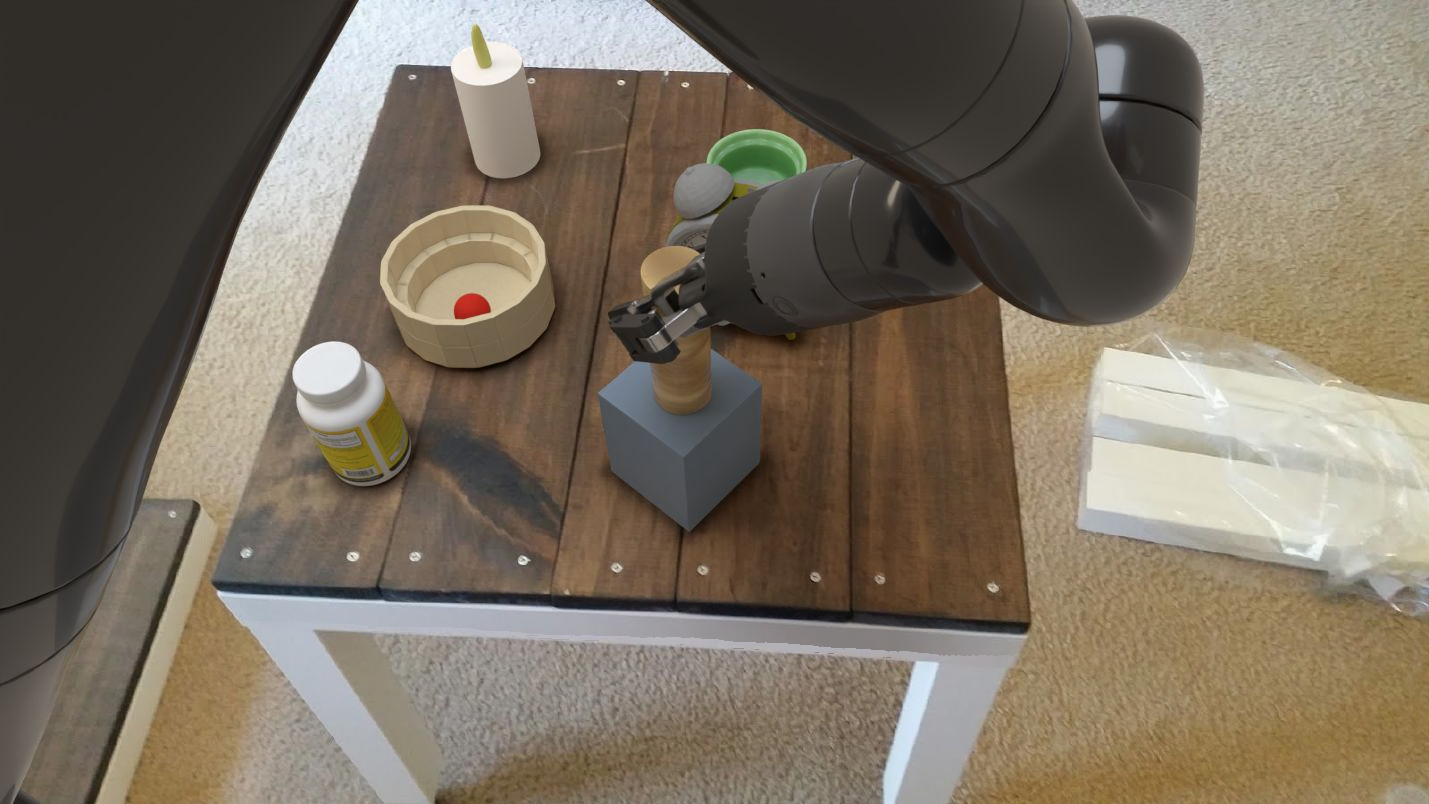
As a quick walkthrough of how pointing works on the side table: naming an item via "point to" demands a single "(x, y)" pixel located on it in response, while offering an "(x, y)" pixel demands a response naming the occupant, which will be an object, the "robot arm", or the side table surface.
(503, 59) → the candle
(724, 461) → the upright slate-blue block
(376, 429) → the pill bottle
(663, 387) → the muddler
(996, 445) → the side table surface
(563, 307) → the side table surface
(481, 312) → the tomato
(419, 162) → the side table surface
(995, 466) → the side table surface
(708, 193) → the alarm clock
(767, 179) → the ramekin
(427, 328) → the bowl
